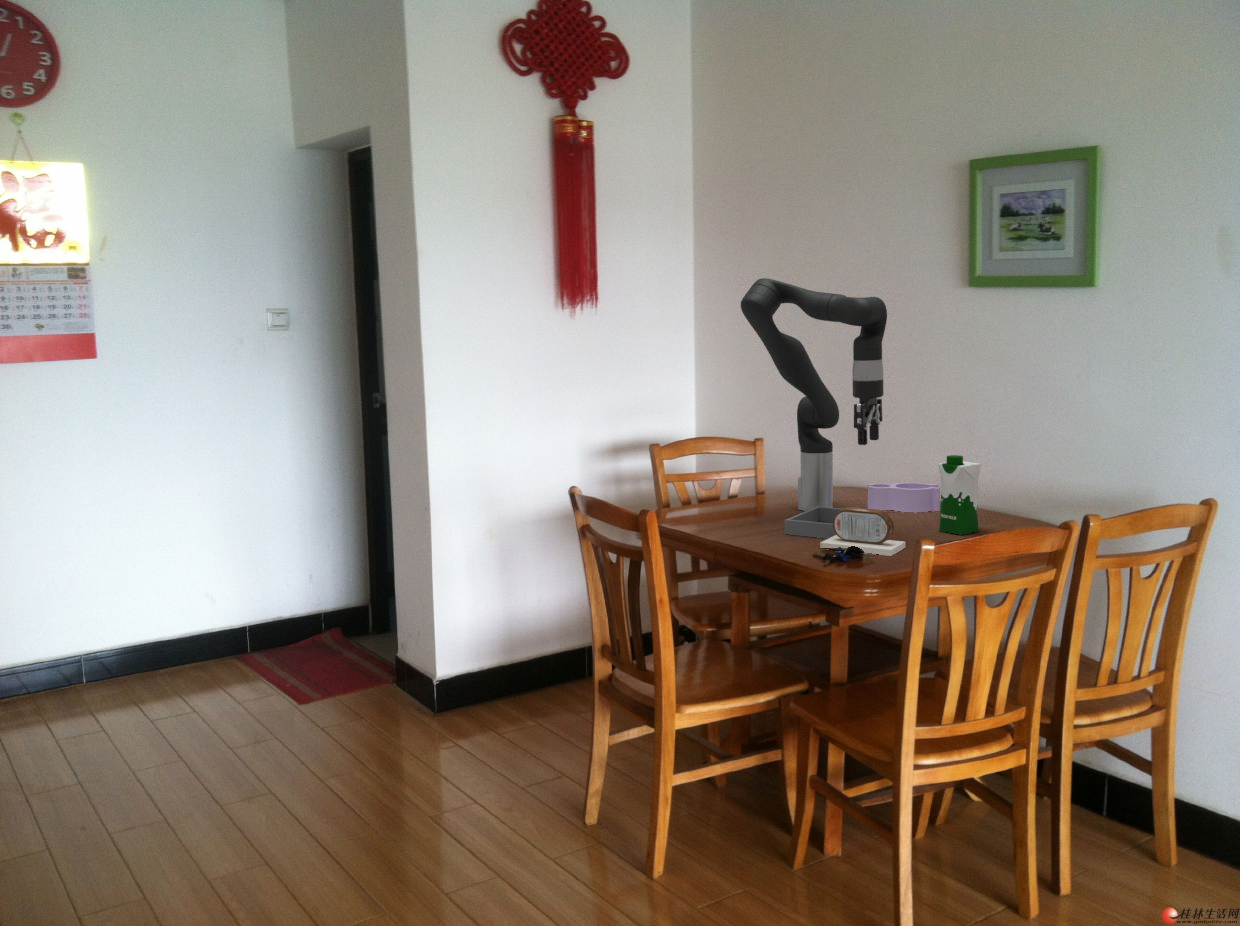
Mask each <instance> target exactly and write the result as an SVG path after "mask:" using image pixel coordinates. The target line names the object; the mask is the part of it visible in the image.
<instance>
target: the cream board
mask: <svg viewBox="0 0 1240 926" xmlns="http://www.w3.org/2000/svg"><path fill="white" fill-rule="evenodd" d="M851 546H855V547H858V548H860V549H862V550H863V551H864V552H867V553H872V554H871V555H876V554H879V555H878V556H887V557H888V556H889V557H892V556H893V555H896V554H897V553H899V552H901V551H902V550H904V549H906V541H903V540H901V541H900V540H894V539H893V540H892V539H888V540H887V541H885V542H883V543H881V544H869V543H860V542H851V541H845V540H842V539H841V538H839V537H838V536H837V535H835V536H833V537H831V538H829V539H824V540H822V541H820V544H819V547H820V548H838V547H841V548H848V547H851ZM820 548H819V549H820ZM867 553H866V554H867Z"/></svg>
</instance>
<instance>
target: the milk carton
mask: <svg viewBox="0 0 1240 926" xmlns="http://www.w3.org/2000/svg"><path fill="white" fill-rule="evenodd" d="M981 469H982V463H979V462H971V461H964V456H963V455H960V454H959V455H958V454H957V455H956V454H954V455H953V454H951V455H950V454H949V455H946V462H940V463H939V462H938V470H939V474H940V512H939V513H940V515H939V529H938V531H939V532H943V533H946V532H948V533H947V534H951V533H954V534H953V535H956V534H959V535H958V536H962V535H961V534H965V535H970V534H973V533H972V532H975V533H979V530H980V529H979V519H978V501H979V500H978V498H979V497H978V496H979V493H978V492H979V486H978V485H979V476H980V472H981ZM969 533H970V534H969Z"/></svg>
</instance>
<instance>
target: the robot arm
mask: <svg viewBox="0 0 1240 926" xmlns="http://www.w3.org/2000/svg"><path fill="white" fill-rule="evenodd" d="M782 304H793V305H796V306H797V307H798V308H799V309H800V310H802V312H803V313H804V314H806V315H807V316H808V317H810V318H811V319H815V320H818V321H824V322H831V323H832V322H833V323H840V324H844V325H849V326H853V327H860V332H859V335H858V336H856V337H855V339H854V340H853V342H852V343H853V344H852V348H853V349H852V352H853V353H852V354H853V357H852V358H853V359H852V372H851V373H852V375H851V376H852V397H853V398H855V399H858V400H859V403H854V404H853V428H854V429H855V430H857V445H859V446H866V445H868V429H869V440H871V441H878V440H880V439H879V438H880V437H879V436H880V431H879V429H880V425H881V422H883V400H882V399H883V398H882V397H883V396H884V394H885V393H884V365H883V340H884V335H885V332H886V327H887V321H888V320H887V319H888V310H887V306H886V304H885V302H884V300H883V299H881V298H880V297H878V296H866V297H857V296H855V297H853V296H846V295H844V294H841V293H832V292H831V293H830V292H823V291H817V290H816V291H815V290H811V289H806V288H803V287H800V286H796V285H794V284H790V283H787V282H783V281H779V280H777V279H773V278H772V279H771V278H768V277H767V278H765V277H764V278H763V277H762V278H759V279H756V281H754V283H753V284H752V285H750V288H748V290H747V292H746V293H745V294H744V296H743V297H742V299H741V301H740V310H741V312H742V313H743V316H744V318H745V319H746V320H747V322H748V323H749V325H750V326H751V327H752V328H753V330H754V331H755V333H756V335H757V336H758V337H759V338H760V340H761V342H762V343H763V345H764V347H765V349H766V351H767V353H768V355H769V356H770V357H771V359H772V362H773V364H774V366H775V367H776V369H777V371H778V373H779V374H780V376H781V377H782V379H784V380H785V381H786V382H787V383H788V384H789V385H791V386H792V387H793V388H795V389H796V390H797V391H798V392H800V393H802V394H803V395H804V397H802V398H801V399H800V400H799V402H798V405H797V409H796V421H797V423H796V424H797V439H798V444H799V447H800V448H799V449H800V476H799V477H797V510H799V511H802V512H805V511H808V510H810V509H812V508H815V507H817V506H818V507H830V508H834V506H833V505H834V501H833V500H834V499H833V498H834V497H833V496H834V495H833V493H834V492H833V491H834V490H833V489H834V488H833V486H834V485H833V484H834V483H833V481H834V480H833V479H834V478H833V476H834V475H833V473H834V469H833V467H834V466H833V465H834V463H833V460H834V459H833V456H834V455H833V450H834V449H833V447H834V446H833V442H832V441H831V440H830V439H828V438H826V437H825V436H824V435H822V433H820V432H819V429H822V430H823V429H824V430H825V429H832V428H834V427H835V426H837V424H838V423H839V420H840V411H839V406H838V403H837V401H836V400H835V399H836V398H835V397H834V396H833V395H832V393H831V392H830V390H829V389H828V388H827V386H826V385H825V383H824V382H823V380H822V378H821V377H820V375H819V373H818V371H817V370H816V368H815V366H814V365H813V364H814V363H812V361H811V358H810V355H808V352H807V350H806V349H805V346H804V345H803V343H802V342H801V341H800V340H799V339H797V338H795V337H794V336H791V335H789V334H786V333H784V332H782V331H780V330H779V329H778V327H777V325H776V323H775V320H774V318H773V317H774V315H775V313H776V312H777V311H778V309H779V308H780V307H781V305H782ZM868 427H869V428H868Z"/></svg>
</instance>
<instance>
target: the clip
mask: <svg viewBox="0 0 1240 926" xmlns="http://www.w3.org/2000/svg"><path fill="white" fill-rule="evenodd" d="M867 509H877V510H895V511H894V512H897V511H901V512H900V513H904V512H914V513H913V514H918V513H917V512H925V513H929V512H928V511H931V512H935V511H940V512H941V487H939V484H938V483H925V482H909V481H908V482H897V483H896V482H895V483H883V482H881V483H880V482H878V483H867Z"/></svg>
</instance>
